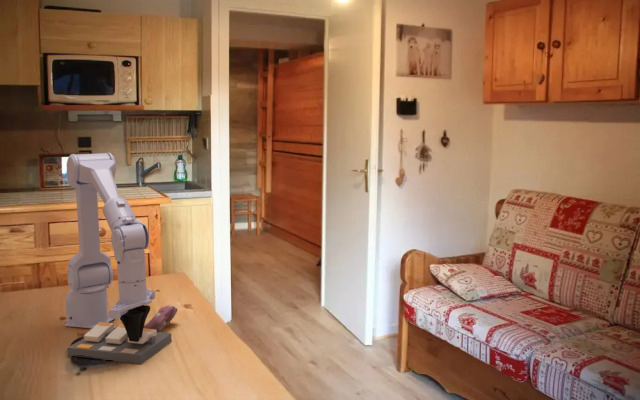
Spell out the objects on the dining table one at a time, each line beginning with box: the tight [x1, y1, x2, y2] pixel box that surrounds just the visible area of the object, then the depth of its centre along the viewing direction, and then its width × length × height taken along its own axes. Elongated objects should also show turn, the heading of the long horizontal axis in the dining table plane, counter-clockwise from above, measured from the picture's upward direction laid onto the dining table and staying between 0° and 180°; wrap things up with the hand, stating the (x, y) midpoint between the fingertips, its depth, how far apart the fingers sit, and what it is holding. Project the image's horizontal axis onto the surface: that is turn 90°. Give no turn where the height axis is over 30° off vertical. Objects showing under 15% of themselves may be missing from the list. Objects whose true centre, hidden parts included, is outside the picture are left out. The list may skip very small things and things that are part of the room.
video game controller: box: [144, 304, 178, 332], centre depth 141 cm, size 10×5×7 cm, turn 169°
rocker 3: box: [128, 328, 157, 344], centre depth 127 cm, size 4×6×1 cm, turn 166°
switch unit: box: [66, 327, 172, 365], centre depth 129 cm, size 18×13×4 cm
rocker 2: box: [105, 323, 128, 344], centre depth 129 cm, size 4×6×1 cm, turn 166°
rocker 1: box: [83, 322, 115, 342], centre depth 130 cm, size 4×6×1 cm, turn 166°
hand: (135, 340), depth 125 cm, fingers closed, pressing on rocker 3
